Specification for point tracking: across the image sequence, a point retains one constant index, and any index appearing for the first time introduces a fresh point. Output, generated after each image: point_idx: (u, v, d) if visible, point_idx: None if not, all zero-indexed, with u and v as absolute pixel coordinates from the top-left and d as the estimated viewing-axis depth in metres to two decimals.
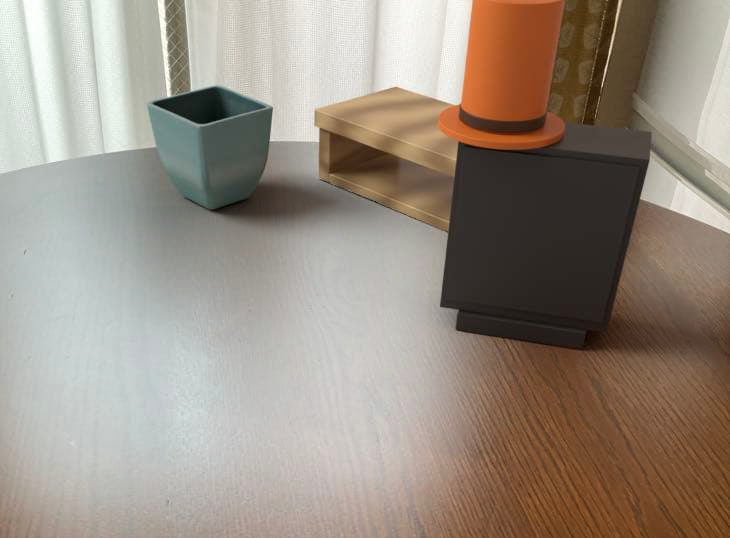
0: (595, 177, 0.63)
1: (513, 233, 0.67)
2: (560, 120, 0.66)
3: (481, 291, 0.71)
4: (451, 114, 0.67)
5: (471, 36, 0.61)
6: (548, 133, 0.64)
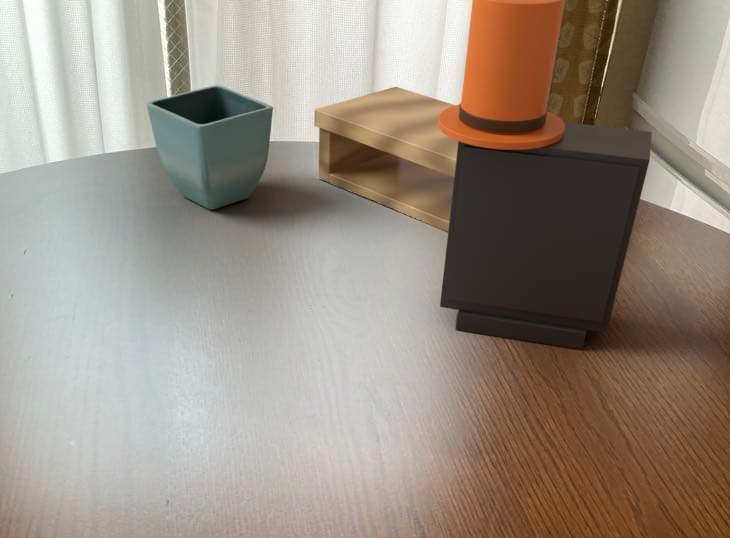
0: (595, 177, 0.63)
1: (513, 233, 0.67)
2: (560, 120, 0.66)
3: (481, 291, 0.71)
4: (451, 114, 0.67)
5: (471, 36, 0.61)
6: (548, 133, 0.64)
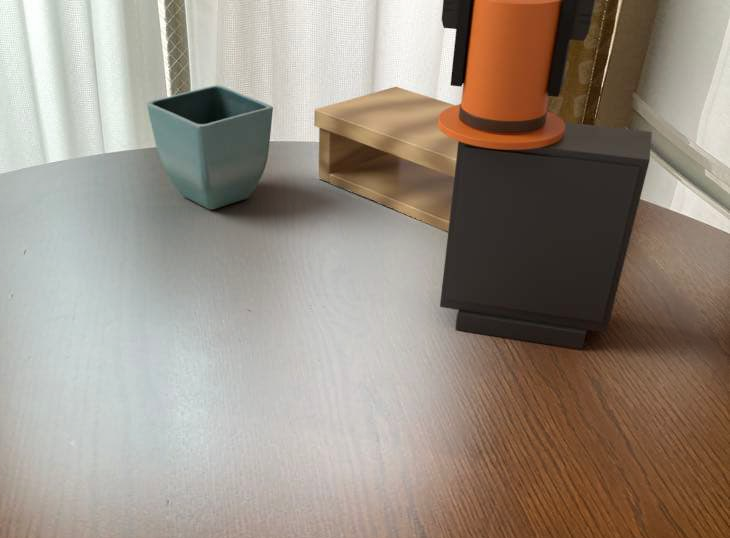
0: (595, 177, 0.63)
1: (513, 233, 0.67)
2: (560, 120, 0.66)
3: (481, 291, 0.71)
4: (451, 114, 0.67)
5: (471, 36, 0.61)
6: (548, 133, 0.64)
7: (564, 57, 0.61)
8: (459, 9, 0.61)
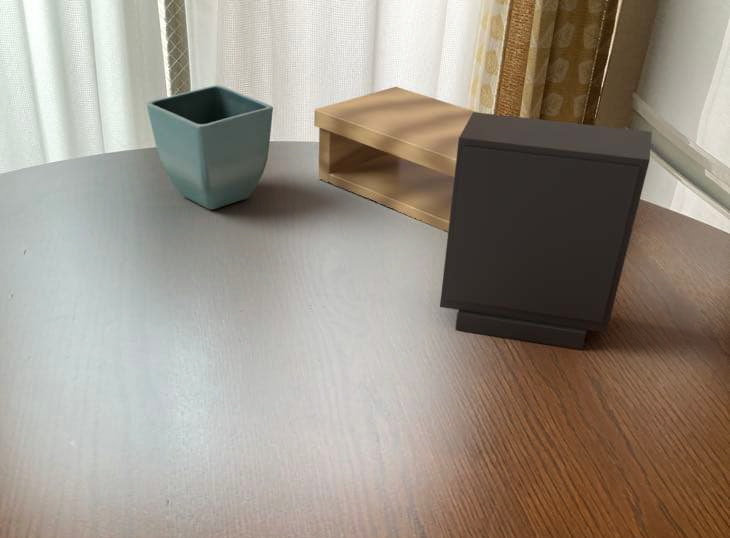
0: (595, 177, 0.63)
1: (513, 233, 0.67)
2: None
3: (481, 291, 0.71)
4: None
5: None
6: None
7: None
8: None
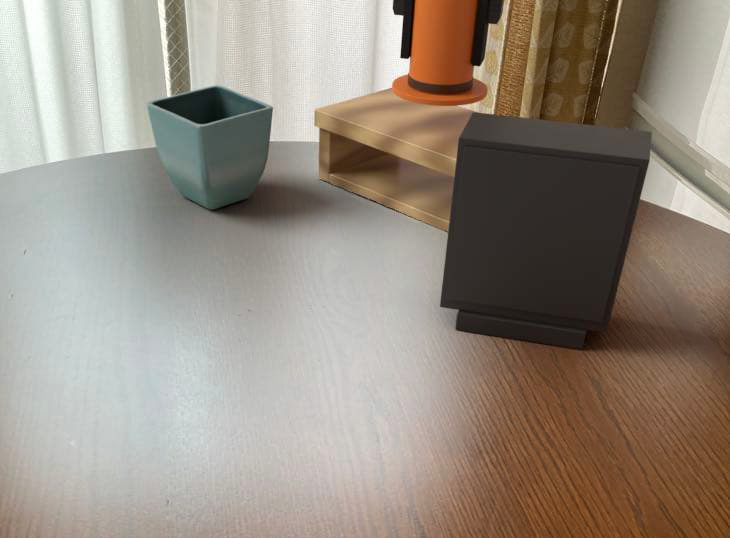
0: (595, 177, 0.63)
1: (513, 233, 0.67)
2: (484, 85, 0.87)
3: (481, 291, 0.71)
4: (402, 81, 0.88)
5: (414, 20, 0.83)
6: (473, 94, 0.85)
7: (482, 36, 0.82)
8: (405, 1, 0.82)
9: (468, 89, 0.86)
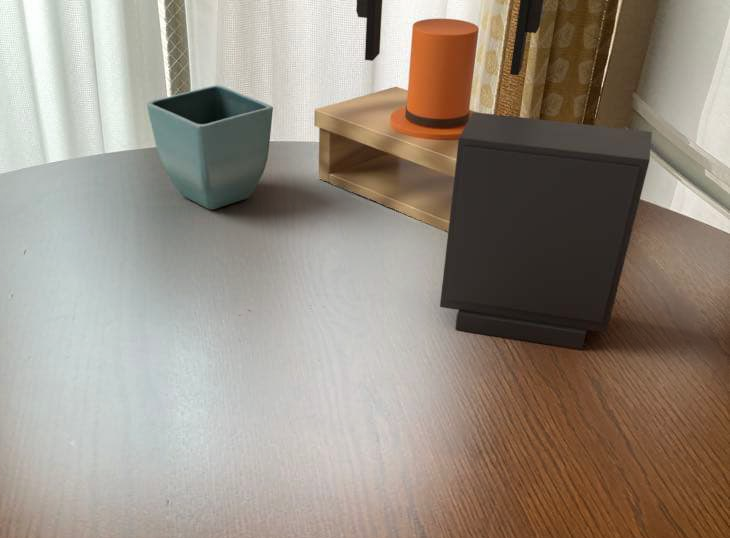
0: (595, 177, 0.63)
1: (513, 233, 0.67)
2: None
3: (481, 291, 0.71)
4: (400, 114, 0.90)
5: (412, 57, 0.85)
6: None
7: (521, 45, 0.82)
8: (368, 3, 0.83)
9: (464, 122, 0.88)
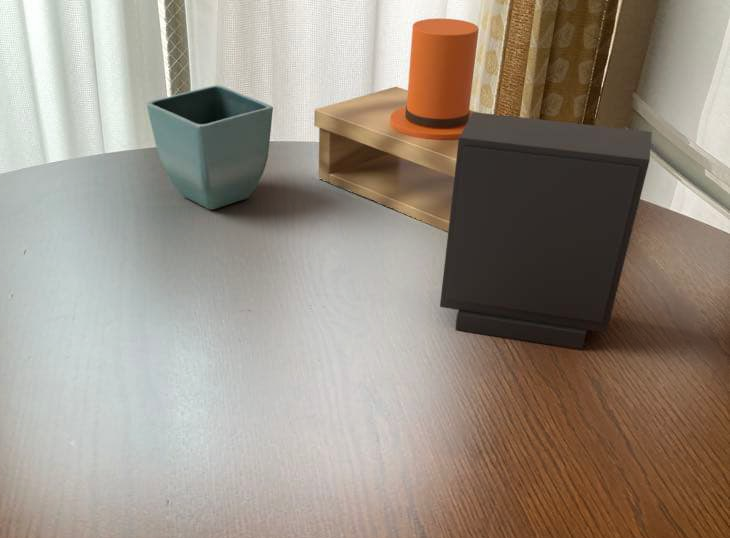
0: (595, 177, 0.63)
1: (513, 233, 0.67)
2: None
3: (481, 291, 0.71)
4: (400, 114, 0.90)
5: (412, 57, 0.85)
6: None
7: None
8: None
9: (464, 122, 0.88)
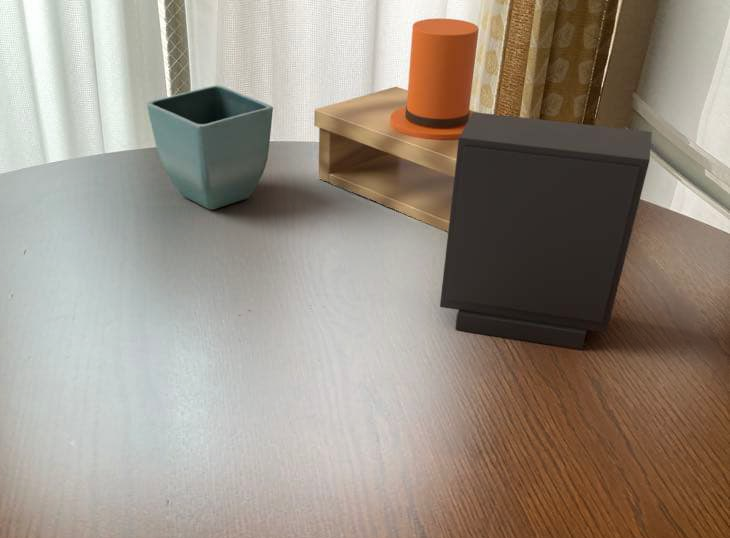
0: (595, 177, 0.63)
1: (513, 233, 0.67)
2: None
3: (481, 291, 0.71)
4: (400, 114, 0.90)
5: (412, 57, 0.85)
6: None
7: None
8: None
9: (464, 122, 0.88)
